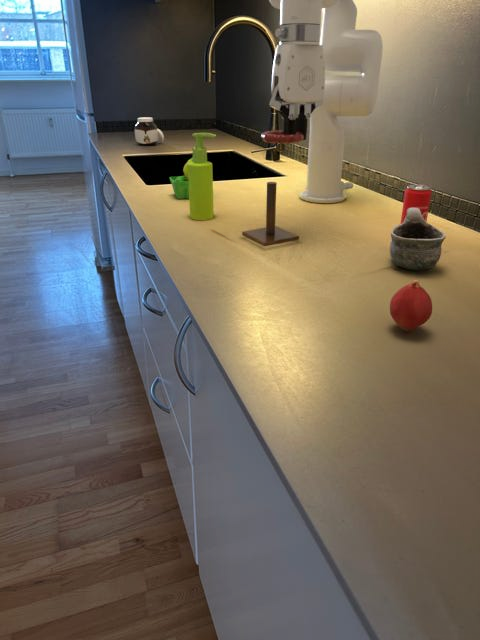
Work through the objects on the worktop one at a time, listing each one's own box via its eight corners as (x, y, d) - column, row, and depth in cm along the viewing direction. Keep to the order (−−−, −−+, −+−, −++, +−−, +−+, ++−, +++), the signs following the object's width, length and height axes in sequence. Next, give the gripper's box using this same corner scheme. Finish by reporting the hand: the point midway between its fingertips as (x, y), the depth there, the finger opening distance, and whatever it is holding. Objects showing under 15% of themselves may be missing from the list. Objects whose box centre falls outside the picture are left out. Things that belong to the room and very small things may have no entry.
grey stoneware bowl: (395, 277, 93) (403, 223, 89) (375, 253, 104) (381, 205, 100) (446, 275, 94) (457, 222, 89) (421, 252, 105) (429, 204, 100)
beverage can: (423, 240, 112) (432, 185, 106) (422, 247, 107) (432, 190, 102) (398, 238, 113) (406, 183, 108) (396, 245, 109) (405, 188, 103)
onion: (381, 321, 77) (388, 272, 74) (418, 320, 78) (426, 271, 74) (394, 340, 72) (402, 288, 68) (434, 339, 72) (444, 287, 69)
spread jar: (134, 145, 235) (131, 118, 229) (142, 142, 245) (140, 116, 239) (159, 146, 233) (157, 119, 228) (166, 142, 243) (164, 116, 237)
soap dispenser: (214, 221, 125) (212, 135, 116) (187, 219, 127) (183, 134, 118) (220, 214, 131) (218, 131, 121) (193, 213, 132) (190, 131, 123)
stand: (275, 231, 118) (277, 176, 112) (299, 242, 111) (302, 184, 105) (242, 238, 113) (242, 181, 108) (264, 249, 107) (265, 189, 101)
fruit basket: (207, 191, 153) (206, 152, 148) (215, 198, 146) (214, 157, 141) (169, 194, 150) (167, 154, 145) (176, 201, 142) (173, 159, 137)
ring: (287, 137, 108) (287, 129, 107) (311, 142, 101) (312, 133, 101) (253, 139, 104) (253, 131, 103) (276, 145, 98) (276, 136, 97)
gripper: (276, 34, 89) (273, 145, 98) (345, 36, 97) (336, 139, 105) (253, 36, 95) (252, 140, 103) (320, 38, 102) (314, 135, 111)
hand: (294, 139), depth 104 cm, fingers closed on ring, 2 cm apart
